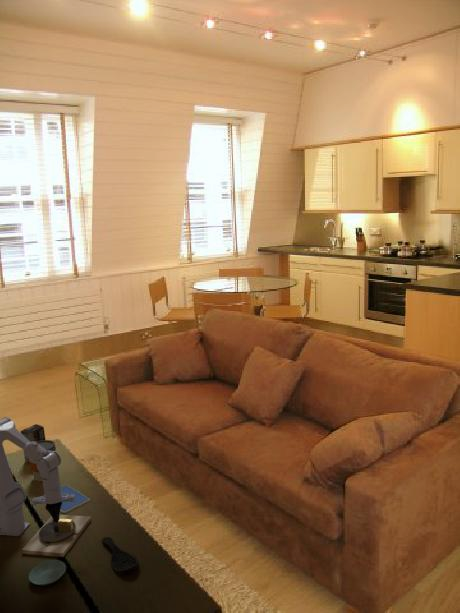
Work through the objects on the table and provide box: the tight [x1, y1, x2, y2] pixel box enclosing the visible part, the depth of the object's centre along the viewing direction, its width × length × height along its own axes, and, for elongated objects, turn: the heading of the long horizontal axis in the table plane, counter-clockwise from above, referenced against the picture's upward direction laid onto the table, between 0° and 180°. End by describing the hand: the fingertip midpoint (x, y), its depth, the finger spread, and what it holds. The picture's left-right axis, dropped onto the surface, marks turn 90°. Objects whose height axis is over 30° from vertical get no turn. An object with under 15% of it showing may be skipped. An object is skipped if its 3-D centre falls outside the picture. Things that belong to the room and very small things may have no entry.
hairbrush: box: [101, 536, 139, 574], centre depth 188 cm, size 8×4×25 cm
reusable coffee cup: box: [27, 439, 57, 482], centre depth 245 cm, size 13×12×15 cm
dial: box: [38, 518, 76, 543], centre depth 201 cm, size 13×13×5 cm
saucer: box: [28, 559, 67, 586], centre depth 180 cm, size 12×12×2 cm
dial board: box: [21, 514, 92, 558], centre depth 201 cm, size 16×22×2 cm
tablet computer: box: [42, 484, 91, 514], centre depth 227 cm, size 19×13×1 cm, turn 46°
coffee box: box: [20, 423, 47, 463], centre depth 263 cm, size 9×6×16 cm
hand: (56, 520), depth 195 cm, fingers closed
